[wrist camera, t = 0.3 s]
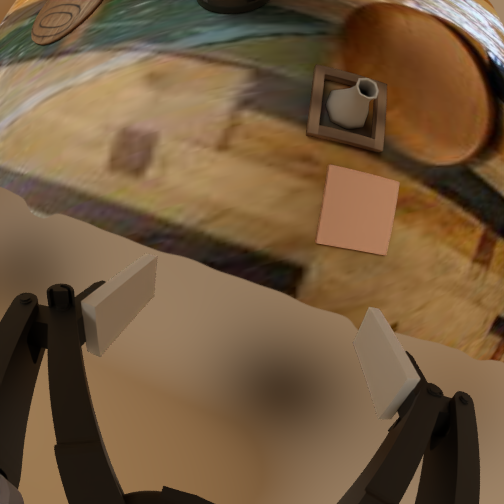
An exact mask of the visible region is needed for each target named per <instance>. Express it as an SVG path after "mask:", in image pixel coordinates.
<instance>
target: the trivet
mask: <svg viewBox="0 0 504 504" xmlns="http://www.w3.org/2000/svg"><path fill="white" fill-rule="evenodd" d="M102 1H103V0H48V2H47V3H46V4H45V5H44V6H43V8H42V9H41V11H40V12H39V14H38V16H37V18H36V20H35V22H34V24H33V28H32V32H31V33H32V39H33V40H34V42H35V43H37V44H40V45H47V44H51V43H54V42H56V41H58V40H60V39H61V38H63V37H64V36H66V35H67V34H69V33H71V32H72V31H73V30H74V29H75V28H77V27H78V26H79V25H80V24H82V23H83V22H84V21H85V20H86V19H87V18H88V17H89V16H90V15H91V14H92V13H93V12H94V11H95V9H96V8H97V7H98V6H99V5H100V4H101V3H102Z"/></svg>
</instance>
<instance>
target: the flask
mask: <svg viewBox="0 0 504 504" xmlns="http://www.w3.org/2000/svg"><path fill="white" fill-rule="evenodd" d="M378 93H379V89H378V86H377V84H376V82H374V81H372V80H371V79H369V78H359V79H358V81H357V84H356V85H355V86H353V87H351V88H347V89H341V90H333V91H331V92H330V95H329V97H328V100H327V102H326V104H325V105H326V108H327V112H328V115H329V118H330V121H331V122H333V123H335V124H337V125H339V126H341V127H343V128H345V129H354V128H361V127H363V126H364V124H365V121H366V118H367V115H368V112H369V102H370V101H371V100H372V99H377V96H378Z"/></svg>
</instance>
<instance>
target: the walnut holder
mask: <svg viewBox="0 0 504 504" xmlns="http://www.w3.org/2000/svg"><path fill="white" fill-rule="evenodd" d="M359 78H367V77H363V76H360V75H357V74H353V73H350V72H346V71H342V70H338V69H334V68H330V67H326V66H321V65H317V64H316V66H315V68H314V74H313V83H312V91H311V99H310V107H309V115H308V123H307V130H306V135H307V136H312V137H317V138H322V139H326V140H331V141H335V142H340V143H344V144H348V145H352V146H356V147H360V148H363V149H367V150H371V151H374V152H381V151H383V144H384V133H385V120H386V101H387V84H385V83H382V82H379V81H376V80H373V79H371V80H372V81H374V82H376V84H377V86H378V89H379V93H378V96H377V99H374V107H373V121H372V132H371V138H369V137H365V136H362V135H358V134H354V133H350V132H346V131H342V130H338V129H334V128H330V127H325V126H321V125H319V121H320V113H321V104H322V95H323V86H324V79H326V80H330V81H334V82H338V83H342V84H346V85H350V86H355V85H356V84H357V81H358V79H359ZM369 79H370V78H369Z"/></svg>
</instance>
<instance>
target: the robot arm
mask: <svg viewBox="0 0 504 504" xmlns="http://www.w3.org/2000/svg"><path fill="white" fill-rule="evenodd" d="M269 1H270V0H197V2H198V3H199V4H200V5H201V6H202V7H204V8H205V9H207V10H210V11H213V12H217V13H242V12H247V11H251V10H254V9H256V8H259V7H261V6H263V5H264V4H266V3H267V2H269ZM156 266H157V256H155V255H151V254H148V253H146V254H145V255H143V256H142V257H140V258H139V259H137V260H136V261H135V262H133V263H132V264H130V265H129V266H128V267H126V268H125V269H123V270H122V271H121V272H119V273H118V274H117V275H115V276H114V277H112V278H111V279H110V280H108V281H107V282H105V281H100V282H96V283H94V284H92V285H91V286H90V287H89V288H87V289H85V290H84V292H81V293H80V294H79V295H77V296H76V297H74V289H73V288H72V287H71V286H70V285H67V284H55V285H52V286H51V287H49V288H48V289H47V299H48V305H49V306H44V305H39V304H38V299H37V296H36V295H34V294H32V293H22V294H20V295H18V296H17V297H16V298H15V299H14V300H13V302H12V303H11V305H10V307H9V308H8V310H7V312H6V313H5V315H4V317H3V318H2V320H1V322H0V504H24V501H23V498H22V495H21V493H20V492H19V491H18V487H19V482H20V477H21V468H22V458H23V448H24V439H25V433H26V426H27V421H28V415H29V410H30V405H31V400H32V396H33V392H34V387H35V383H36V380H37V376H38V372H39V369H40V365H41V361H42V358H43V355H44V351H45V349H48V375H49V390H50V400H51V409H52V416H53V423H54V429H55V435H56V441H57V445H55V447H54V450H55V456H56V461H57V465H58V469H59V473H60V476H61V480H62V484H63V487H64V490H65V494H66V497H67V500H68V503H69V504H214V503H212V502H210V501H207V500H205V499H203V498H201V497H199V496H197V495H193V494H190V493H186V492H182V491H179V490H175V489H172V488H169V487H166V486H163V489H162V492H160V491H138V492H132V493H128V494H124V492H123V490H122V488H121V486H120V484H119V481H118V479H117V477H116V474H115V472H114V469H113V467H112V464H111V462H110V459H109V456H108V453H107V451H106V448H105V445H104V442H103V439H102V436H101V432H100V429H99V426H98V422H97V419H96V415H95V412H94V408H93V404H92V400H91V395H90V391H89V387H88V382H87V377H86V372H85V366H84V361H83V355H82V349H81V346H82V345H83V344H84V343H85V342H86V346H87V351H88V352H90V353H93V354H94V355H96V356H99V357H101V356H102V354H103V353H104V352H105V351H106V350H107V348H109V346H110V345H111V344H112V343H113V342H114V341H115V339H116V338H117V337H118V336H119V335H120V334H121V332H122V331H123V330H124V329H125V328H126V327H127V326H128V325H129V323H130V322H131V321H132V320H133V319H134V318H135V317H136V316H137V314H138V313H139V312H140V311H141V310H142V309H143V308H144V307H145V306H146V304H147V303H148V302H149V301H150V300H151V299H152V298H153V297H154V291H155V278H156ZM353 345H354V348H355V351H356V353H357V356H358V359H359V362H360V365H361V368H362V371H363V374H364V377H365V379H366V383H367V385H368V389H369V392H370V395H371V398H372V401H373V404H374V408H375V410H376V414H377V418H378V419H391V418H392V417H393V416H394V415H395V413H396V412H397V411H398V414H399V418H398V419H397V420H396V422H395V423H394V424H393V425H392V426H391V427H390V429H389V430H388V431H389V433H388V435H387V437H386V438H385V440H384V441H383V443H382V444H381V446H380V447H379V449H378V451H377V452H376V454H375V455H374V457H373V458H372V459H371V461H370V462H369V464H368V465H367V467H366V468H365V469H364V471H363V472H362V473H361V475H360V476H359V477H358V478H357V480H356V481H355V482H354V484H353V485H352V486H351V487H350V489H349V490H348V491H347V492H346V493H345V495H344V496H343V497H342V498H341V499H340V500H339V502H338V503H337V504H399V502H400V501H401V499H402V497H403V495H404V493H405V492H406V490H407V488H408V486H409V484H410V482H411V480H412V478H413V476H414V474H415V472H416V469H417V467H418V465H419V463H420V461H421V459H422V456H423V454H424V458H423V465H422V471H421V476H420V482H419V487H418V493H417V497H416V501H415V504H479V494H480V459H479V444H478V432H477V424H476V416H475V410H474V404H473V400H472V398H471V397H470V395H468V394H467V393H464V392H461V391H459V392H456V393H455V395H454V396H453V398H449V397H445V396H443V392H442V390H441V389H440V388H439V387H437V386H436V385H434V384H432V383H427V381H426V379H425V377H424V375H423V374H422V372H421V370H420V369H419V367H418V365H417V364H416V361H415V360H414V358H413V356H411V355H410V354H409V353H408V352H407V351H405V350H404V349H403V347H402V345H401V344H400V342H399V340H398V338H397V337H396V335H395V333H394V332H393V330H392V328H391V327H390V325H389V323H388V322H387V320H386V319H385V317H384V315H383V314H382V312H381V311H380V309H378V308H373V307H369V308H368V310H367V312H366V315H365V317H364V319H363V322H362V324H361V326H360V328H359V330H358V333H357V335H356V337H355V339H354V341H353Z"/></svg>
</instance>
